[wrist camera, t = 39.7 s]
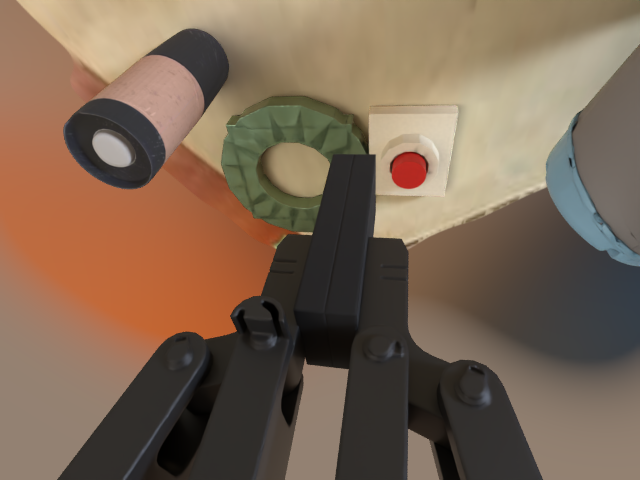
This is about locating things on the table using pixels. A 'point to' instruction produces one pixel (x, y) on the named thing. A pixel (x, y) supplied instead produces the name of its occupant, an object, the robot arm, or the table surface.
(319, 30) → the table surface
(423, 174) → the switch button
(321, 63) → the table surface
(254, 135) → the ring
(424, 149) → the switch box
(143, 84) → the travel mug
